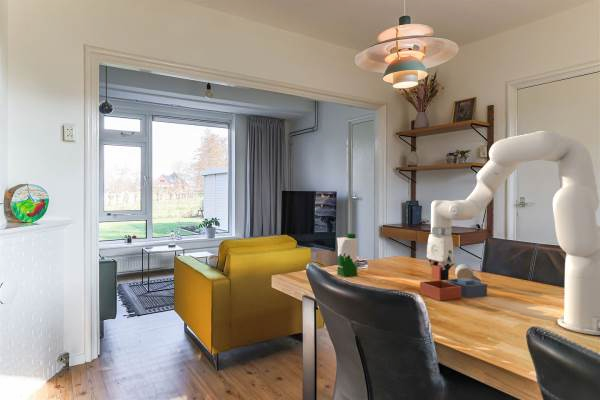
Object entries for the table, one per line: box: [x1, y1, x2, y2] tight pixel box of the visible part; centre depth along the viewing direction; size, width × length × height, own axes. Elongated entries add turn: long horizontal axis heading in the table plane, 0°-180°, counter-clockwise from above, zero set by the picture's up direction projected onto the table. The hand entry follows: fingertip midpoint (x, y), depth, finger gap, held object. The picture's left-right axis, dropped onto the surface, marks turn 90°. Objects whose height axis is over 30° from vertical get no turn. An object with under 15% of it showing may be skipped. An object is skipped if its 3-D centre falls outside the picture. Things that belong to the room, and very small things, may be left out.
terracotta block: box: [431, 264, 443, 281], centre depth 142 cm, size 4×4×5 cm
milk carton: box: [336, 233, 359, 278], centre depth 178 cm, size 9×9×20 cm
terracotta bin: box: [419, 280, 462, 302], centre depth 142 cm, size 11×10×4 cm
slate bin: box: [445, 278, 488, 299], centre depth 146 cm, size 11×10×4 cm
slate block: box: [456, 278, 474, 286], centre depth 147 cm, size 4×4×5 cm
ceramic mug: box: [454, 263, 482, 283], centre depth 164 cm, size 11×8×8 cm
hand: (439, 277), depth 142 cm, fingers closed on terracotta block, 4 cm apart
